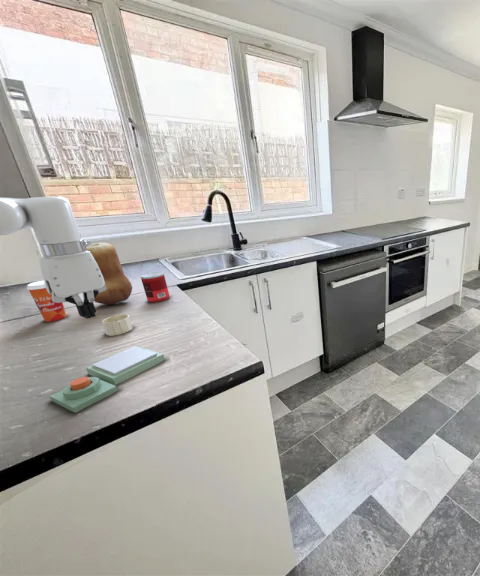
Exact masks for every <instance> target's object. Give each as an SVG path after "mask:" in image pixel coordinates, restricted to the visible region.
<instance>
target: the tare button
mask: <svg viewBox="0 0 480 576" xmlns="http://www.w3.org/2000/svg"><path fill="white" fill-rule="evenodd" d="M69 384H70V386H71V388H72V390H73V391H74V390H80V389H83V388H85V387H87V386H89V385H90V384H91V382H90V379H89V376H83V377H82V376H81V377H78V378H75V379H74V380H72V381H71V382H70V383H69Z"/></svg>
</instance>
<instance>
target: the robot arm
mask: <svg viewBox="0 0 480 576" xmlns="http://www.w3.org/2000/svg"><path fill="white" fill-rule="evenodd" d="M31 228H32V229H33V232H34V235H35V238H36V240H37V242H38V245H39V247H40V251H41V253H42V255H43V256H41V257H39V266H40V271H41V272H40V273H41V275H42V279H43V280H44V283H45V286H46V289H47V291H48V293H49V294H50V295H52V301H53V302H55V303H61V302H62V303H70V304H73V305H75V307H76V310H77V312H78V315H79V316H80V317H82V318H84V319H87V320H90V319H91V318H96V317H97V315H96V313H97V309H96V305H95V304H94V302H95V298H96V296H97V295H98V293H101V292H103V291H105V290H106V289H107V288H106V286H105V282H104V278H103V275H102V273H101V271H100V269H99V267H98V265H97V263H96V261H95V259H94V257H93V256H92V254H91V253H90V251H86V250H87V248H86V247H88V246H91V244H92V243H91V241H90V240H84V239H83V237H82V234H81V232H80V229H79V226H78V223H77V220H76V217H75V215H74V212H73V209H72V206H71V204H70V201H69V199H67V198H65V197H63V196H36V197H35V196H34V197H28V198H20V197H19V198H18V197H17V198H16V197H0V236H7V235H11V234H14V233H16V232H18V231H20V230H21V231H22V230H26V229H31ZM80 294H82V298H83V299H82V298H81V296H80Z"/></svg>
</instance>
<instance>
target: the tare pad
mask: <svg viewBox="0 0 480 576" xmlns="http://www.w3.org/2000/svg"><path fill="white" fill-rule="evenodd" d="M88 377H89V376H88ZM89 379H90V382H91V384H90V385H89V386H87V387H85V388H83V389H80V390H74V391H73V390H72V388H71V386H70V383H69V384H68V385H67V386H65V387H64V388H63V389H62V390H59V391H57V392H55V393H54V394H51V395H49V398H50V401H51V402H53V403H55V404H56V405H59V406H61V407H63V408H65V409H67V410H68V411H71V413H72V412H73V413H75V414H76V413H78V412H80V411H82V410H83V409H86V408H87V407H89V406H91V405H93V404H95V403H98V402H99V401H101V400H102V399H104V398H106V397H108V396H111V395H113V394H114V393H117V392H118V387H117V386H116V385H114V384H111V383H109V382H106V381H104V380H101V379H99V378H96V377H94V376H90V377H89Z"/></svg>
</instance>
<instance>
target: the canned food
mask: <svg viewBox="0 0 480 576" xmlns="http://www.w3.org/2000/svg"><path fill="white" fill-rule="evenodd" d="M140 279H141V283H142V286H143V290H144V293H145V296H146V300H147V302H149V303H159V302H163V301H167V300H168V299H170V292H169V287H168V284H167V281H166V276H165V273H164V272H163V271H153V272H148V273H144V274H142V275H141V276H140Z"/></svg>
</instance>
